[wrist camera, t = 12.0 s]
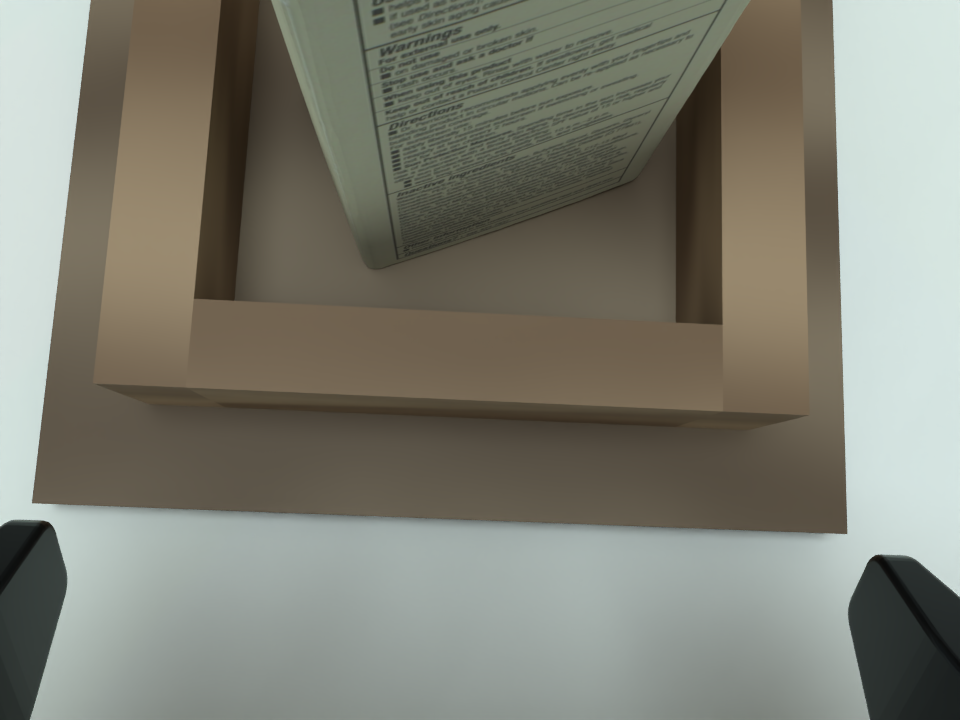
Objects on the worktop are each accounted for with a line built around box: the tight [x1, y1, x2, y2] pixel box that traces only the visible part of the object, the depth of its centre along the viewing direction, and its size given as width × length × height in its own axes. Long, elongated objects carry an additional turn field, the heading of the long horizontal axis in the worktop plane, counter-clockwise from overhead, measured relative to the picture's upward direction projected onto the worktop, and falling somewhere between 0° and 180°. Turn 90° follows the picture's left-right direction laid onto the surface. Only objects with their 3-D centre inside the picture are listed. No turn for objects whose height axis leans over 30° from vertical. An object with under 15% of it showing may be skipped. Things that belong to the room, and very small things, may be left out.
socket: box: [32, 0, 847, 534], centre depth 18 cm, size 16×16×4 cm
